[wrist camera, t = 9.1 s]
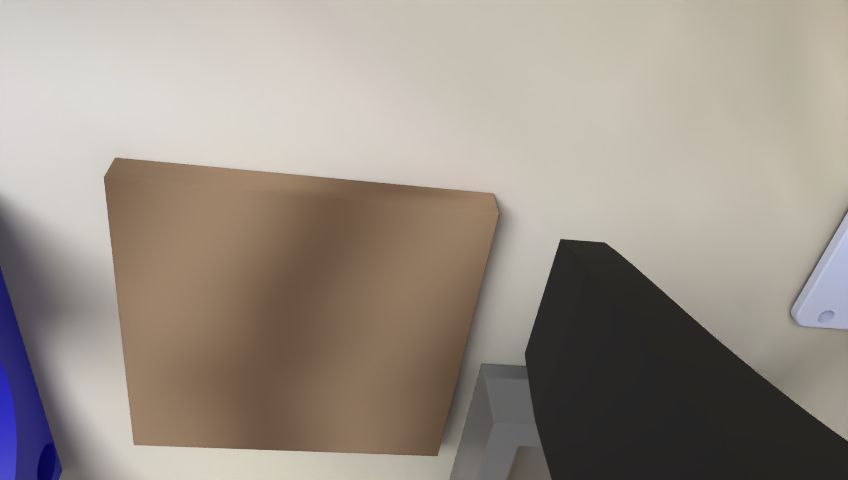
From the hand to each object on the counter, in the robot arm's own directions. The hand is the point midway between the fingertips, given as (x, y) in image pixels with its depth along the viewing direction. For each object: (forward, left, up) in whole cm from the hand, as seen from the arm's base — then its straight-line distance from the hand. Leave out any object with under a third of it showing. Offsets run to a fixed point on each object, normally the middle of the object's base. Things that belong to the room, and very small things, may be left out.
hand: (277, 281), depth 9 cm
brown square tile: (0, +9, -10) cm, 13 cm away
